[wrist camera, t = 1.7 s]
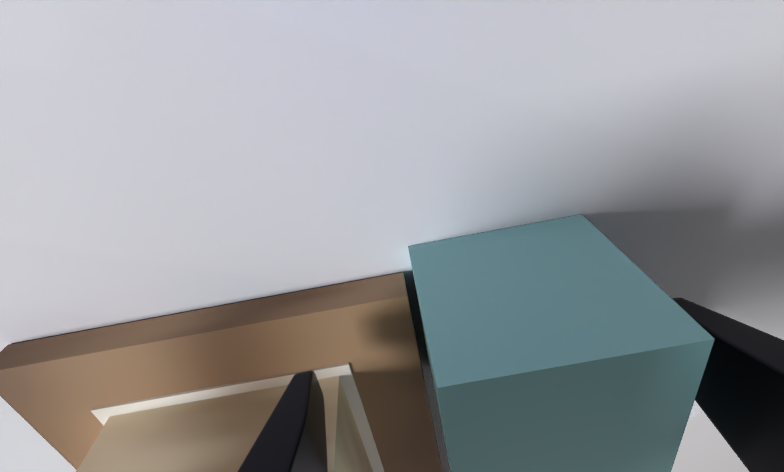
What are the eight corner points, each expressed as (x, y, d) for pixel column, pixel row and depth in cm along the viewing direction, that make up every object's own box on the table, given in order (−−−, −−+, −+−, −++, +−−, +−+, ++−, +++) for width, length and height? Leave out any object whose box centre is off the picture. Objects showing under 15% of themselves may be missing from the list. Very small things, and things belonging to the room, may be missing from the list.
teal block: (580, 212, 10) (714, 339, 6) (570, 338, 13) (665, 488, 9) (407, 244, 10) (436, 387, 6) (429, 363, 13) (460, 522, 9)
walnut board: (403, 272, 11) (407, 297, 10) (445, 489, 16) (450, 518, 15) (8, 344, 11) (-25, 376, 10) (182, 533, 16) (172, 565, 16)
